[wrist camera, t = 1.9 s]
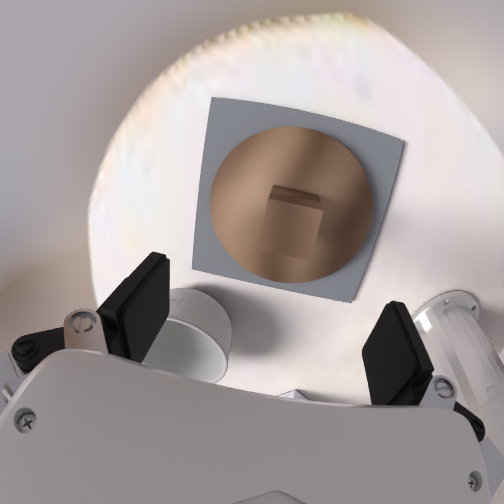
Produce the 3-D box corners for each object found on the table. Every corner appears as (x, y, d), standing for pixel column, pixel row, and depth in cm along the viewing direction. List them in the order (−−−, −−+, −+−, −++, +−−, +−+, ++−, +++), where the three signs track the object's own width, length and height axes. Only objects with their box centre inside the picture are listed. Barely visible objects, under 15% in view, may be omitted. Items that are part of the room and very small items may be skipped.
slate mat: (401, 140, 21) (403, 140, 21) (350, 300, 29) (351, 303, 29) (213, 97, 22) (211, 97, 22) (193, 266, 30) (191, 269, 30)
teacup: (188, 258, 30) (158, 299, 23) (258, 318, 32) (248, 368, 25) (135, 318, 36) (108, 356, 29) (194, 363, 38) (177, 405, 31)
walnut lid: (386, 150, 22) (412, 157, 16) (343, 289, 28) (352, 327, 23) (224, 114, 22) (202, 110, 17) (206, 260, 29) (185, 291, 24)
